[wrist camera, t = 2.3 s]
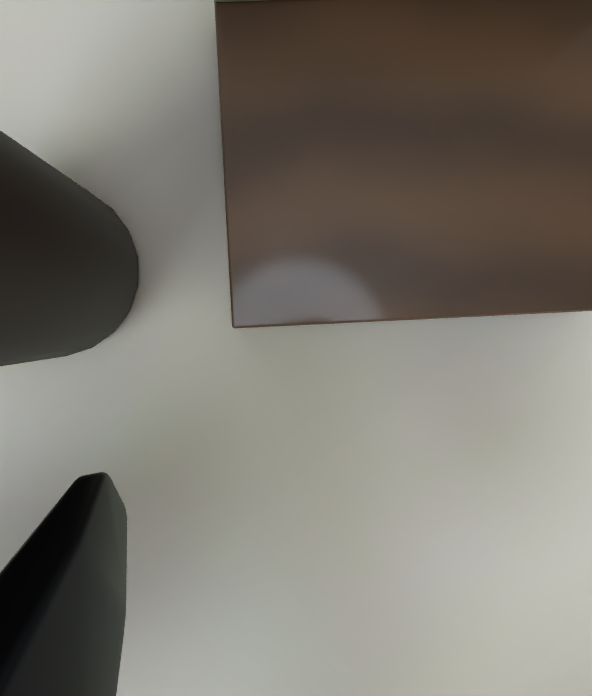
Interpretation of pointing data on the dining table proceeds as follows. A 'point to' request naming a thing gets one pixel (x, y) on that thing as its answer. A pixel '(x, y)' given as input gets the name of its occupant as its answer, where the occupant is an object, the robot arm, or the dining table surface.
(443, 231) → the brown wooden stand
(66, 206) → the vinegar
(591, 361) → the dining table surface
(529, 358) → the dining table surface
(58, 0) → the dining table surface
